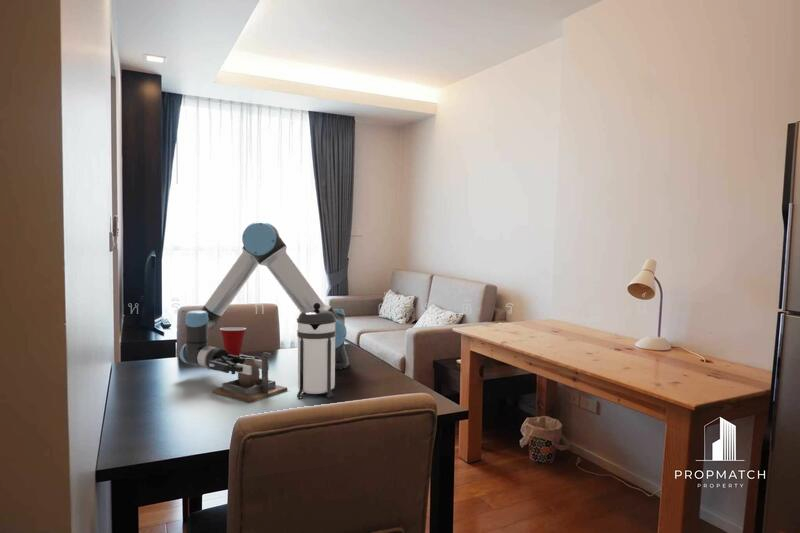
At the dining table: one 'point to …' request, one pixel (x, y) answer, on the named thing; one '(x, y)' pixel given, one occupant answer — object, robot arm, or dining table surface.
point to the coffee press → (316, 352)
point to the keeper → (255, 392)
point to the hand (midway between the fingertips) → (259, 368)
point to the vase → (249, 379)
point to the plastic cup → (233, 339)
